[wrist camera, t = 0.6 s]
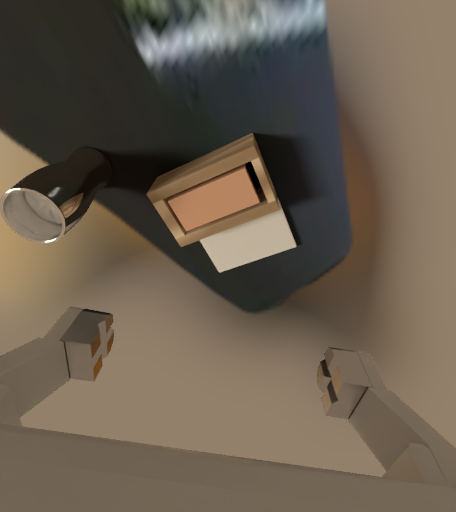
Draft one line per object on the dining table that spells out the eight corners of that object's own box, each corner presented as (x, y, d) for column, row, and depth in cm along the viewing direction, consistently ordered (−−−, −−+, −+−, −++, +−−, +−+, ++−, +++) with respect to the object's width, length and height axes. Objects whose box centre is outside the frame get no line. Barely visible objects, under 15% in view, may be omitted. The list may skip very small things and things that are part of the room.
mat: (195, 229, 48) (194, 232, 47) (277, 197, 44) (278, 199, 44) (219, 269, 53) (219, 272, 52) (295, 243, 49) (296, 246, 48)
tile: (171, 192, 41) (167, 201, 39) (244, 160, 38) (244, 168, 36) (189, 221, 44) (186, 231, 42) (258, 194, 41) (259, 202, 39)
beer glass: (57, 149, 42) (-19, 194, 30) (102, 138, 40) (42, 179, 28) (82, 194, 46) (24, 250, 33) (124, 185, 44) (79, 239, 32)
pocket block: (157, 177, 43) (146, 194, 39) (252, 132, 39) (254, 145, 34) (187, 226, 48) (181, 246, 43) (275, 191, 44) (279, 209, 39)
